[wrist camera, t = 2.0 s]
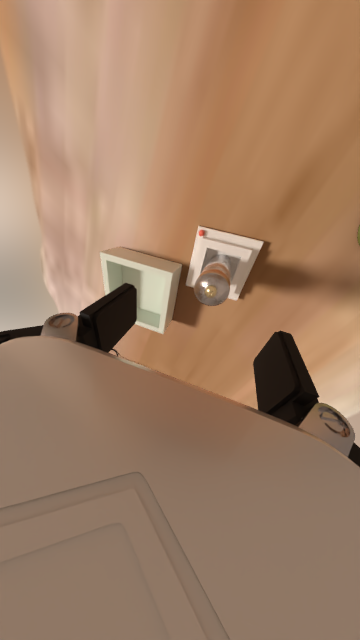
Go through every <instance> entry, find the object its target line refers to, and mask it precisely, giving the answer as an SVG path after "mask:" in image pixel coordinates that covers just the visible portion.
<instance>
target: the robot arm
mask: <svg viewBox="0 0 360 640" xmlns="http://www.w3.org/2000/svg"><path fill="white" fill-rule="evenodd" d="M136 320H137V289H136V288H135V286H134V285H132V284H128V283H124V284H123V285H121V286H120V287H118V288H116V289H115V290H113V291H112V292H110V293H109V294H107V295H105V296H104V297H102V298H101V299H99V300H98V301H96V302H95V303H93V304H91V305H90V306H88V307H87V308H85V309H84V310H82V311H80V315H79V316H78V317H77V316H76V315H75V314H72V313H60V314H56V315H53V316H51V317H49V318H48V319H47V320H46V321H45V323H44V325H42V326H36V327H29V328H22V329H15V330H8V331H3V332H0V640H360V448H359V447H358V446H357V445H356V444H355V443H354V440H355V433H354V430H353V428H352V426H351V425H350V423H349V422H348V421H347V419H346V418H345V417H344V416H343V415H342V414H341V413H340V412H338V411H337V410H336V409H334V408H333V407H331V406H329V405H327V404H324V403H319V402H318V399H317V398H318V397H319V395H318V393H317V391H316V388H315V386H314V384H313V382H312V379H311V377H310V375H309V373H308V370H307V368H306V366H305V364H304V361H303V359H302V357H301V355H300V352H299V350H298V348H297V346H296V344H295V341H294V339H293V337H292V335H291V334H289V333H286V332H283V331H279V332H275V333H274V334H273V335H272V337H271V338H270V339H269V341H268V342H267V343H266V345H265V346H264V347H263V349H262V350H261V351H260V353H259V354H258V355H257V357H256V358H255V360H254V363H253V365H254V374H255V384H256V393H257V402H258V410H256V409H254V408H251V407H249V406H246V405H244V404H241V403H239V402H236V401H233V400H231V399H228V398H226V397H223V396H220V395H218V394H215V393H213V392H210V391H208V390H205V389H202V388H200V387H197V386H195V385H192V384H189V383H187V382H184V381H182V380H179V379H176V378H174V377H171V376H168V375H166V374H163V373H161V372H158V371H155V370H153V369H150V368H147V367H145V366H142V365H139V364H137V363H134V362H131V361H129V360H126V359H123V358H121V357H118V356H115V355H113V354H110V353H108V352H109V351H110V350H111V349H112V348H113V347H114V346H115V345H116V344H117V342H118V341H119V340H120V339H121V338H122V337H123V336H124V335H125V334H126V333H127V331H128V330H129V329H130V328H131V327H132V326H133V325H134V324H135V322H136Z"/></svg>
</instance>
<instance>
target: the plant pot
mask: <svg viewBox="0 0 360 640" xmlns="http://www.w3.org/2000/svg"><path fill="white" fill-rule="evenodd" d="M357 238H358V243H359V245H360V225H359V229H358V237H357Z"/></svg>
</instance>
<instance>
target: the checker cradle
mask: <svg viewBox="0 0 360 640" xmlns="http://www.w3.org/2000/svg"><path fill="white" fill-rule="evenodd" d="M262 245H263V241H261V240H256V239H252V238H248V237H244V236H240V235H236V234H232V233H228V232H223V231H219V230H215V229H211V228H207V227H203V226H198V230H197V235H196V240H195V244H194V249H193V254H192V258H191V263H190V267H189V272H188V277H187V281H186V286H190V287H193V288H194V285H195V282H196V280H197V279H198V277H199V276H200V274H201V273H202V271H203V270H204V268H205V267H206V265H207V263H208V262H209V260H210V259H211V258H212V257H213V256H215V255H217V254H223V255H226V256H227V257H228V258H229V259H230V260H231V264H232V267H231V277H230V292H229V295H228V297H227V298H230V299H233V300H236V301H237V299H238V297H239V295H240V292H241V290H242V288H243V286H244V284H245V282H246V279H247V277H248V275H249V273H250V271H251V269H252V266H253V264H254V262H255V260H256V258H257V255H258V253H259V251H260V249H261V247H262Z"/></svg>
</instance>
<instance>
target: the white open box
mask: <svg viewBox="0 0 360 640" xmlns="http://www.w3.org/2000/svg"><path fill="white" fill-rule="evenodd" d="M100 257H101V265H102V273H103V281H104V289H105V295H107V294H109V293H110V292H112V291H113V290H115V289H116V288H118V287H120V286H121V285H123V284H124V283H128V284H132V285H134V286H135V288H136V289H137V320H136V322H135V324H136V325H139V326H142V327H145V328H147V329H150V330H153V331H156V332H159V333H162V334H164V332H165V330H166V329H167V327H168V326H169V324H170V322H171V321H172V317H173V312H174V306H175V301H176V296H177V290H178V285H179V280H180V274H181V269H182V264H179V263H176V262H172V261H169V260H165V259H161V258H158V257H154V256H151V255H147V254H144V253H140V252H137V251H133V250H129V249H126V248H122V247H116V248H112V249H109V250H105V251H101V252H100Z"/></svg>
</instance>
